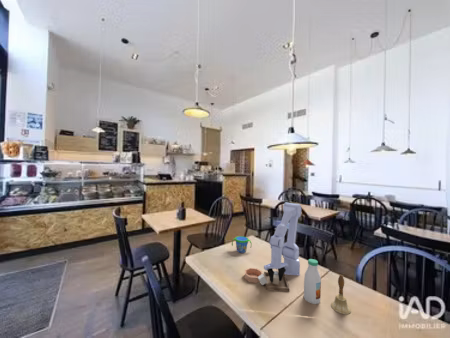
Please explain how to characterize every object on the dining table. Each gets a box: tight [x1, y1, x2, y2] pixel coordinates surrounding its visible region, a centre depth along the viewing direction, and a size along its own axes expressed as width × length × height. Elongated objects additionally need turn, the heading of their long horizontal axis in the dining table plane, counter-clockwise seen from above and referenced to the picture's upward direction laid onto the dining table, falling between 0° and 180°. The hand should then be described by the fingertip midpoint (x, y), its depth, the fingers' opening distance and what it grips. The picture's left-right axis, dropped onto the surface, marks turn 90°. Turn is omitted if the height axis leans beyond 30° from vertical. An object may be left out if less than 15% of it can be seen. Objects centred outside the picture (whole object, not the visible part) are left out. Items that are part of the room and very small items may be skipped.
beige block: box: [272, 275, 279, 285], centre depth 115 cm, size 3×4×3 cm
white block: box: [258, 273, 267, 286], centre depth 113 cm, size 3×4×3 cm
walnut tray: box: [263, 271, 290, 292], centre depth 115 cm, size 12×16×2 cm
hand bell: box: [330, 274, 352, 315], centre depth 96 cm, size 8×8×16 cm
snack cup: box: [231, 235, 252, 254], centre depth 158 cm, size 16×10×10 cm
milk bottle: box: [303, 258, 322, 305], centre depth 101 cm, size 8×8×20 cm
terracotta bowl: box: [244, 267, 264, 284], centre depth 120 cm, size 10×10×4 cm
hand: (275, 280), depth 115 cm, fingers closed on beige block, 5 cm apart
